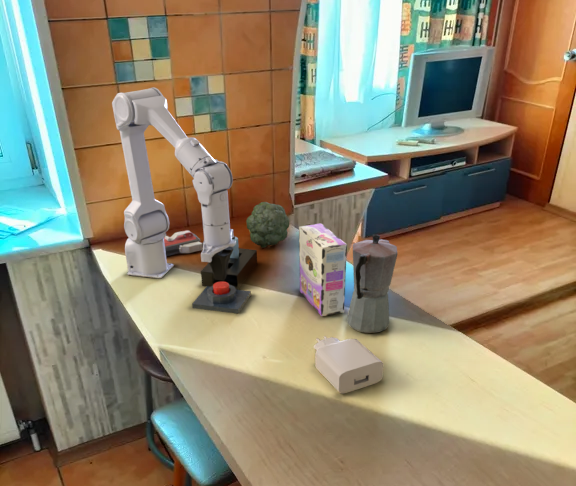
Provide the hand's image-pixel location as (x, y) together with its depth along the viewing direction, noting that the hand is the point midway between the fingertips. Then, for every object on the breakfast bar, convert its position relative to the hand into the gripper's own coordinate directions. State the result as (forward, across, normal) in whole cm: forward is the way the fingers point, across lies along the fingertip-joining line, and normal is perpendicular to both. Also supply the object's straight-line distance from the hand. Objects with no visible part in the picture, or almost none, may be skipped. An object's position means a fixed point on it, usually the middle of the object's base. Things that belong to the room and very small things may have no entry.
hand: (220, 278), depth 133 cm
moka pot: (+6, -2, -34) cm, 35 cm away
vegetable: (+6, +36, +1) cm, 37 cm away
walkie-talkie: (+6, +28, +20) cm, 35 cm away
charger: (+6, -20, -31) cm, 37 cm away
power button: (+3, 0, 0) cm, 3 cm away
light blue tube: (+6, +17, +3) cm, 18 cm away
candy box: (+6, +6, -22) cm, 23 cm away
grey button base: (+6, 0, 0) cm, 6 cm away
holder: (+6, +14, +3) cm, 15 cm away
